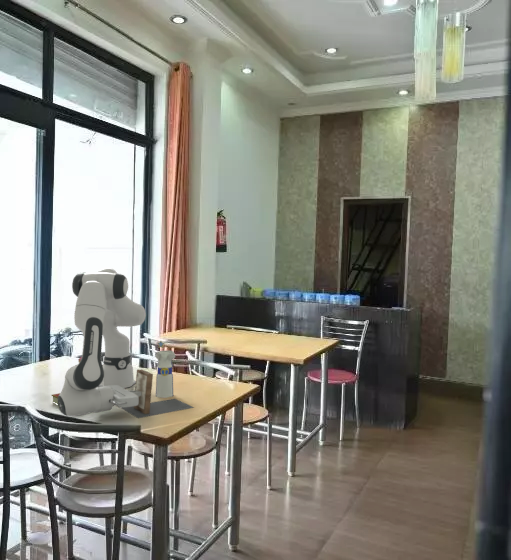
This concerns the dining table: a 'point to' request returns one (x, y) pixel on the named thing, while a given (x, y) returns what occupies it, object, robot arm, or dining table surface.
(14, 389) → the dining table surface
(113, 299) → the robot arm
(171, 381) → the grey tall piece
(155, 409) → the mat
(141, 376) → the board
